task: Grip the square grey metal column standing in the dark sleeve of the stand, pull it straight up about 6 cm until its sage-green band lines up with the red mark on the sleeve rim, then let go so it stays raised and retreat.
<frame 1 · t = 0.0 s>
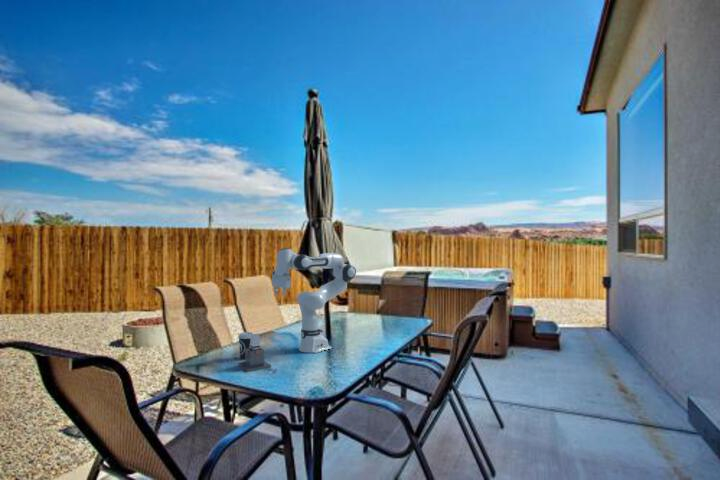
hand: (279, 294, 233), 39 cm above the table, tool pointing down, fingers open, 8 cm apart
coffee cup: (245, 358, 224), on the table
stand: (254, 366, 208), on the table
column: (254, 349, 208), point 10 cm above the table, slide at 0.0 cm
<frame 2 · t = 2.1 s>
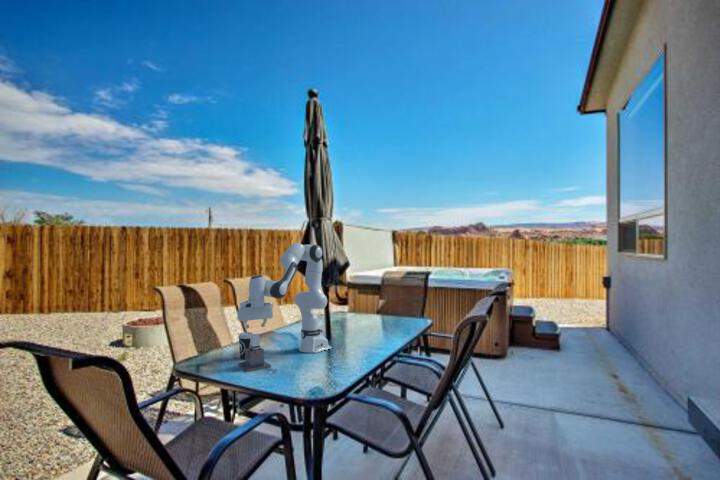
hand: (255, 327, 209), 22 cm above the table, tool pointing down, fingers open, 8 cm apart
nothing on the table moved.
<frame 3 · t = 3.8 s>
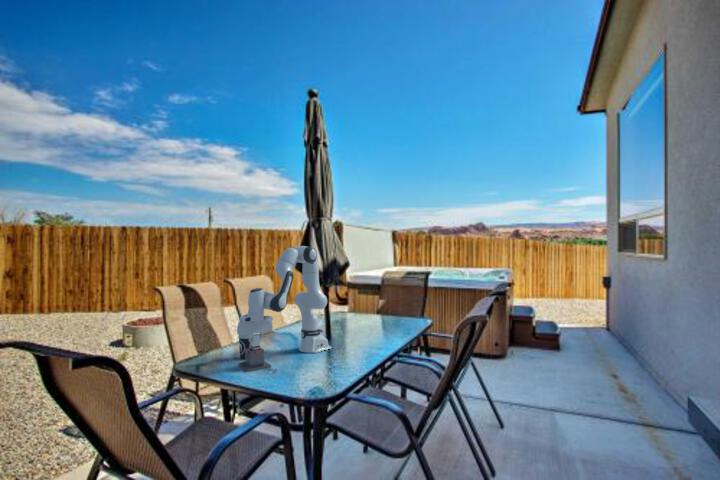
hand: (255, 340, 209), 15 cm above the table, tool pointing down, fingers closed on column, 4 cm apart
column: (254, 349, 208), point 10 cm above the table, slide at 0.0 cm, touching gripper
everything else where it was.
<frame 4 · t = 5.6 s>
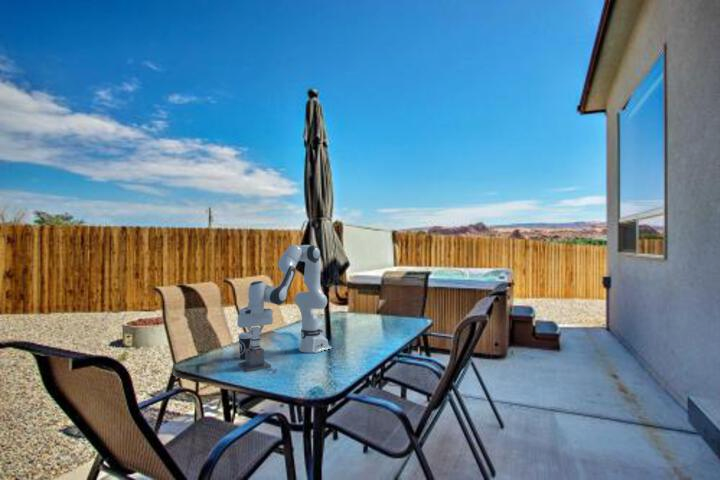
hand: (255, 333, 209), 19 cm above the table, tool pointing down, fingers closed on column, 4 cm apart
column: (255, 342, 209), point 14 cm above the table, slide at 4.1 cm, touching gripper
everything else where it was.
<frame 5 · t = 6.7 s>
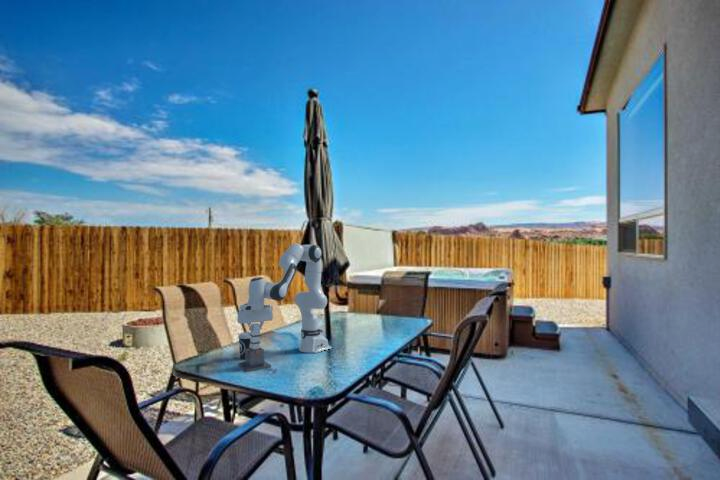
hand: (255, 329, 209), 21 cm above the table, tool pointing down, fingers closed on column, 4 cm apart
column: (255, 338, 209), point 16 cm above the table, slide at 6.2 cm, touching gripper
everything else where it was.
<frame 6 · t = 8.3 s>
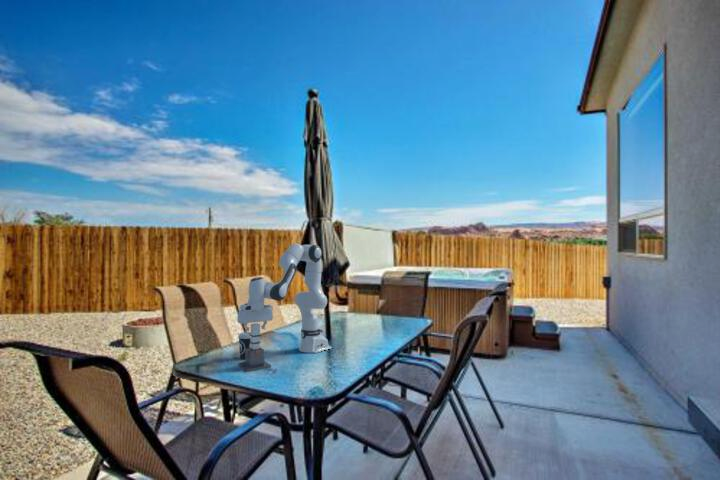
hand: (255, 329, 209), 21 cm above the table, tool pointing down, fingers open, 8 cm apart
column: (255, 338, 209), point 16 cm above the table, slide at 6.2 cm
everything else where it was.
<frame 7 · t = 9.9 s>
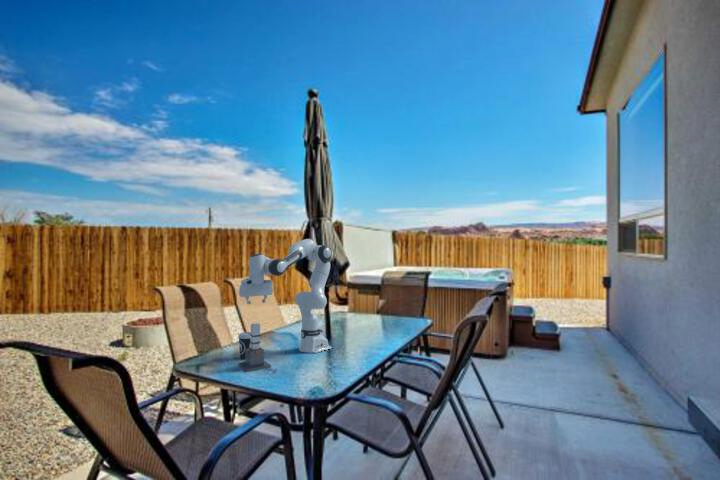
hand: (256, 303, 219), 35 cm above the table, tool pointing down, fingers open, 8 cm apart
nothing on the table moved.
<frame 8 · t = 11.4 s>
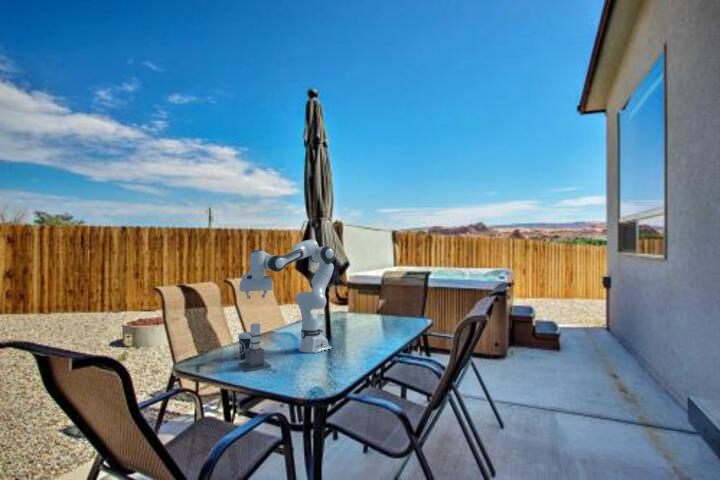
hand: (256, 298, 225), 37 cm above the table, tool pointing down, fingers open, 8 cm apart
nothing on the table moved.
at the end: column slide at 6.2 cm; the gripper is holding nothing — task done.
